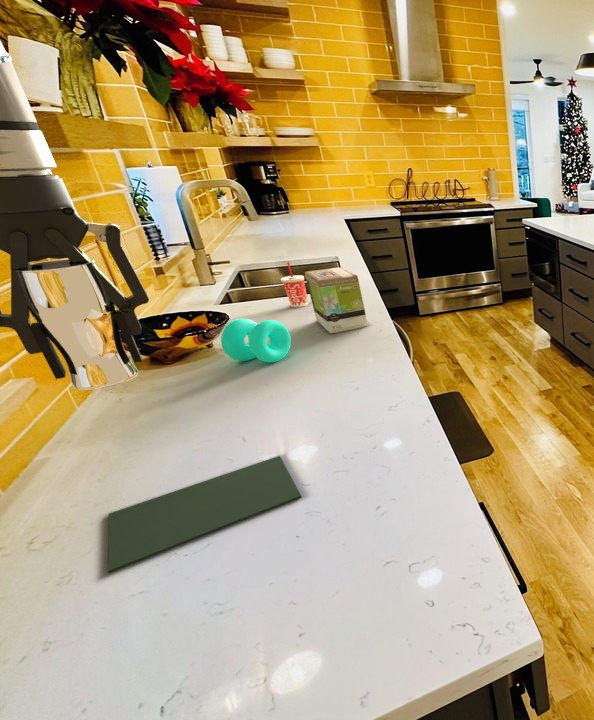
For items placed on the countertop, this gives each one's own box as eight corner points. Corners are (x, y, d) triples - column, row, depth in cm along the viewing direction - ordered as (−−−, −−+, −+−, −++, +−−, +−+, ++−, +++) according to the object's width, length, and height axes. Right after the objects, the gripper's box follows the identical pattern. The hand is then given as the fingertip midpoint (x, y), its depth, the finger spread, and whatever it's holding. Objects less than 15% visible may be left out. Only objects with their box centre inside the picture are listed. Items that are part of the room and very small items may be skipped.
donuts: (261, 351, 123) (248, 312, 119) (298, 353, 122) (287, 314, 118) (226, 367, 114) (211, 326, 110) (266, 369, 113) (252, 328, 109)
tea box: (370, 326, 140) (358, 274, 134) (330, 335, 134) (315, 281, 128) (353, 314, 150) (342, 265, 144) (315, 321, 144) (302, 270, 138)
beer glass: (138, 364, 69) (91, 255, 63) (149, 378, 65) (100, 263, 59) (64, 381, 64) (7, 265, 58) (71, 397, 60) (10, 274, 54)
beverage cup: (284, 308, 155) (271, 263, 149) (295, 302, 161) (282, 259, 155) (305, 308, 155) (292, 263, 150) (315, 302, 161) (303, 259, 155)
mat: (109, 516, 69) (108, 513, 69) (280, 458, 82) (279, 455, 81) (109, 574, 60) (107, 571, 59) (302, 498, 72) (301, 495, 72)
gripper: (-156, 179, 46) (-22, 402, 55) (130, 171, 58) (200, 354, 67) (-132, 176, 51) (-13, 381, 60) (128, 169, 63) (193, 340, 72)
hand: (100, 366), depth 63 cm, fingers closed on beer glass, 6 cm apart
